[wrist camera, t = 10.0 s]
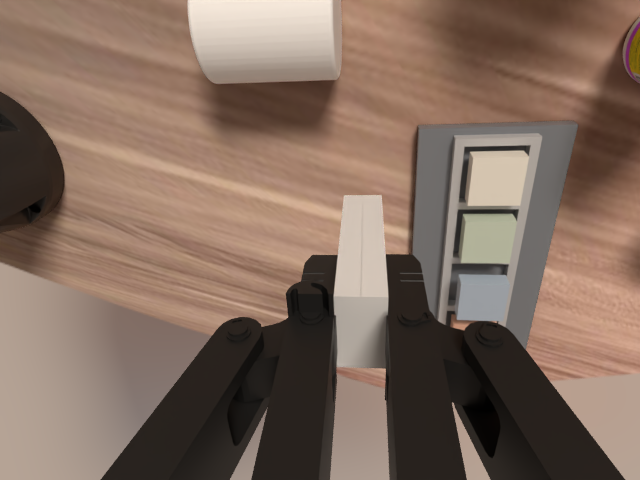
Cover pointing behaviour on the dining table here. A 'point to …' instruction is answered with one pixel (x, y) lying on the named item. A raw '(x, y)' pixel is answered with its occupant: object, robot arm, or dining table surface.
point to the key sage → (487, 238)
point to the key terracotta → (461, 322)
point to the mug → (267, 39)
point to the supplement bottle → (632, 51)
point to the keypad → (487, 210)
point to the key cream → (496, 178)
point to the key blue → (481, 297)
